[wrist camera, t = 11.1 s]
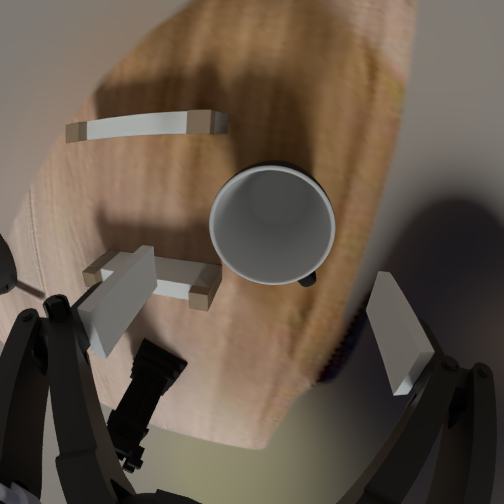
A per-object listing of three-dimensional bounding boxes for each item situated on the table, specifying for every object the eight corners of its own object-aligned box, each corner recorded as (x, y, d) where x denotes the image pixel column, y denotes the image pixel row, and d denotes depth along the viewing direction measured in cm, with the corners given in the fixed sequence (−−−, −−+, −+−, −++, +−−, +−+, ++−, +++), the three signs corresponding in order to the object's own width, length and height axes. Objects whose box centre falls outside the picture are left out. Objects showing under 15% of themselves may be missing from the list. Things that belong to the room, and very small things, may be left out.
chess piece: (187, 363, 41) (144, 469, 23) (172, 383, 44) (133, 475, 26) (144, 337, 40) (85, 437, 22) (134, 361, 43) (84, 448, 25)
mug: (219, 178, 28) (185, 203, 19) (296, 138, 25) (300, 141, 16) (273, 271, 32) (264, 328, 23) (345, 240, 29) (366, 289, 20)
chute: (111, 262, 35) (85, 286, 29) (101, 121, 26) (65, 124, 21) (221, 279, 33) (207, 311, 27) (228, 114, 25) (211, 109, 19)
